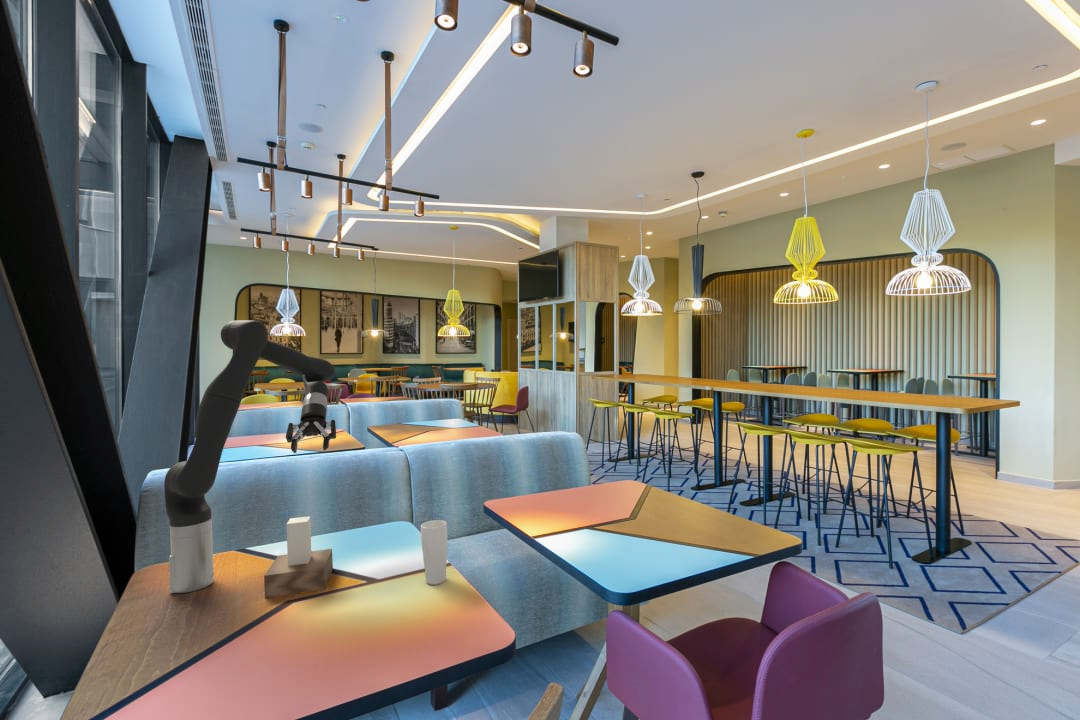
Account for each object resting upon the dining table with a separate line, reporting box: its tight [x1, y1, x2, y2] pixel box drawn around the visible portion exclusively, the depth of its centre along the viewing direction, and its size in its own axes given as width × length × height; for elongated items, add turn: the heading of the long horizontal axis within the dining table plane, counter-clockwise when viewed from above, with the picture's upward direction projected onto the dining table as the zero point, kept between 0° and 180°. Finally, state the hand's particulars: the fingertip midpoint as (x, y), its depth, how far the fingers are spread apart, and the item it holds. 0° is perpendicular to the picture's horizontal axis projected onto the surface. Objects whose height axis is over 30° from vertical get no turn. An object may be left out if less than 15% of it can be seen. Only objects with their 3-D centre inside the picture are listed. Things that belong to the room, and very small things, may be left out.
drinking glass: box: [420, 519, 448, 586], centre depth 130 cm, size 7×7×15 cm
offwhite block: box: [286, 516, 312, 566], centre depth 134 cm, size 5×5×11 cm
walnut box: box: [263, 548, 334, 599], centre depth 133 cm, size 14×14×6 cm
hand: (309, 450), depth 153 cm, fingers open, 8 cm apart
